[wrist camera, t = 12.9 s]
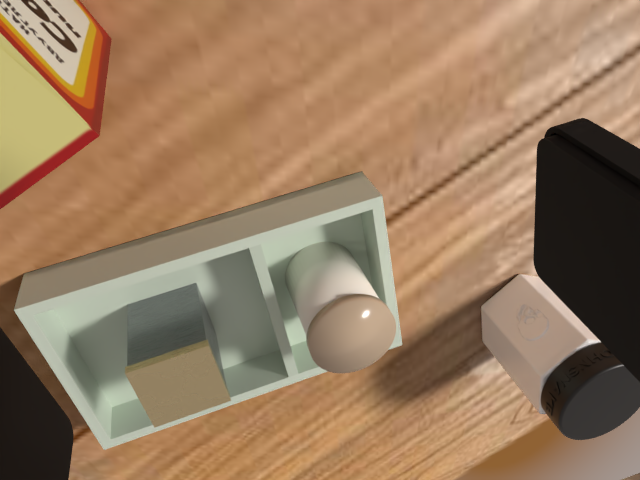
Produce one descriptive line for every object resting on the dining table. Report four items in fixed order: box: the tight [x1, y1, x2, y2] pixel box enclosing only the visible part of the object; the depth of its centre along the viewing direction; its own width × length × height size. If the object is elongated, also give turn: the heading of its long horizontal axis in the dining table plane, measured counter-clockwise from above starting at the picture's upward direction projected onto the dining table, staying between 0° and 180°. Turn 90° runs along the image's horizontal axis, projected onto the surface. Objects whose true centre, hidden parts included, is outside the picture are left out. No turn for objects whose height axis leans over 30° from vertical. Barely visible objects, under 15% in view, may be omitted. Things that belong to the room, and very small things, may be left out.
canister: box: [285, 242, 396, 373], centre depth 40 cm, size 6×6×8 cm
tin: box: [125, 283, 231, 428], centre depth 39 cm, size 5×5×7 cm
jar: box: [481, 274, 640, 440], centre depth 48 cm, size 9×8×12 cm
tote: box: [14, 172, 402, 450], centre depth 41 cm, size 24×14×4 cm, turn 102°
